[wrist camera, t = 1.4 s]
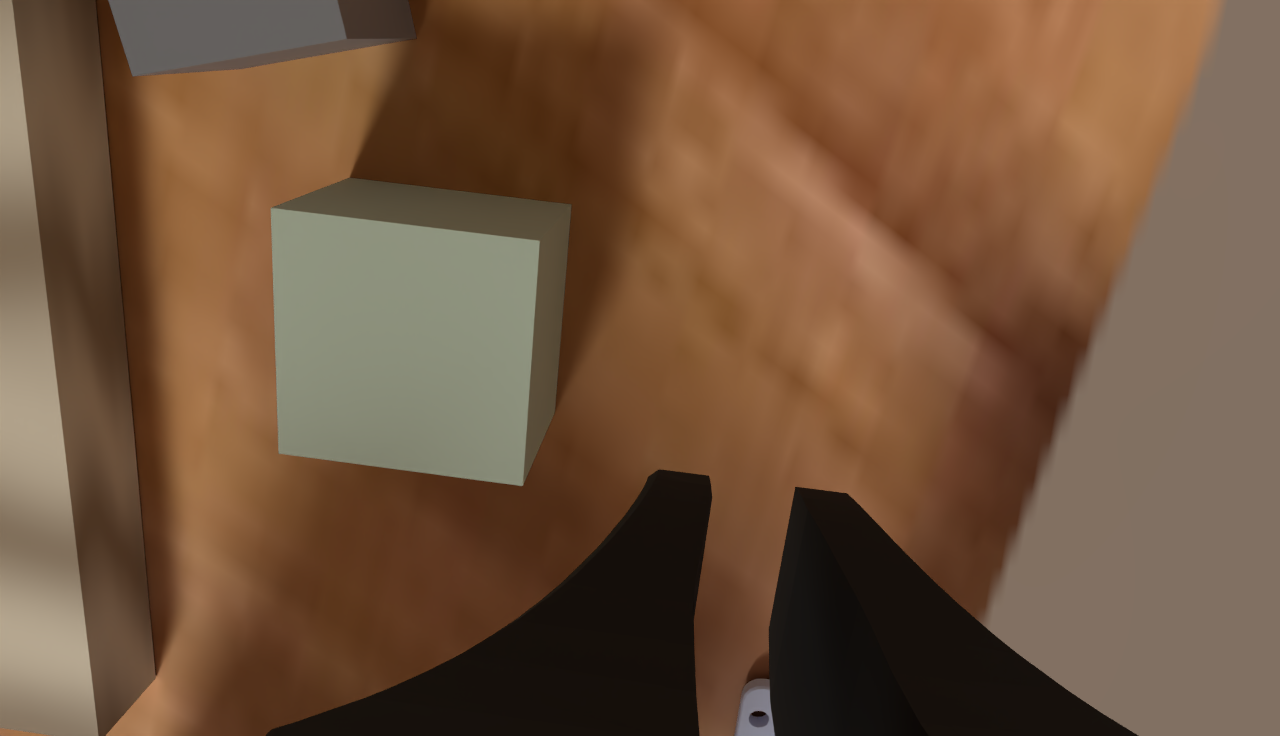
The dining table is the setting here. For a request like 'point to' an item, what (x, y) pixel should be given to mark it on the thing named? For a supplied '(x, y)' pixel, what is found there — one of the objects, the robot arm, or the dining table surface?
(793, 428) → the dining table surface
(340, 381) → the sage block
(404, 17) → the grey cube
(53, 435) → the maple batten
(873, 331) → the dining table surface
